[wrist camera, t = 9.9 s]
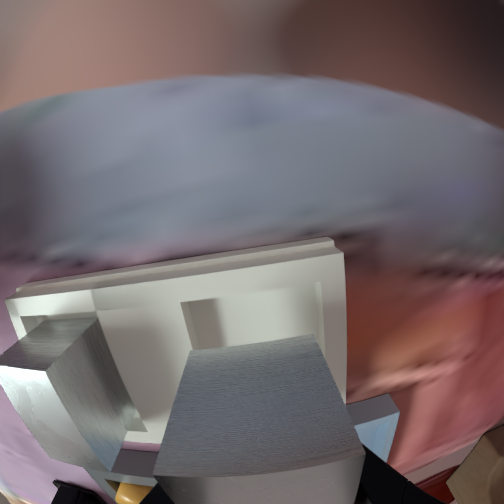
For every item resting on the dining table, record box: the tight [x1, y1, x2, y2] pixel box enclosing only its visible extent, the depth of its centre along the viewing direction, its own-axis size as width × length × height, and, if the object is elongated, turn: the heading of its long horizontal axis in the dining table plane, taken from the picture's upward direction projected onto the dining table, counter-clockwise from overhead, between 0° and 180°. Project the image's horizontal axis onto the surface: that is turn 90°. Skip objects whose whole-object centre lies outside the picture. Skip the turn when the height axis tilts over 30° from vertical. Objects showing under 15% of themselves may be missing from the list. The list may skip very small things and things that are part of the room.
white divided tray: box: [5, 237, 347, 444], centre depth 13 cm, size 10×17×2 cm, turn 99°
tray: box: [345, 393, 400, 462], centre depth 15 cm, size 10×13×2 cm
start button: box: [115, 482, 153, 504], centre depth 15 cm, size 4×4×3 cm
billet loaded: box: [0, 317, 137, 473], centre depth 11 cm, size 6×4×5 cm, turn 9°
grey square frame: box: [84, 449, 159, 504], centre depth 15 cm, size 7×7×2 cm
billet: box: [152, 333, 366, 504], centre depth 7 cm, size 6×4×5 cm, turn 9°
